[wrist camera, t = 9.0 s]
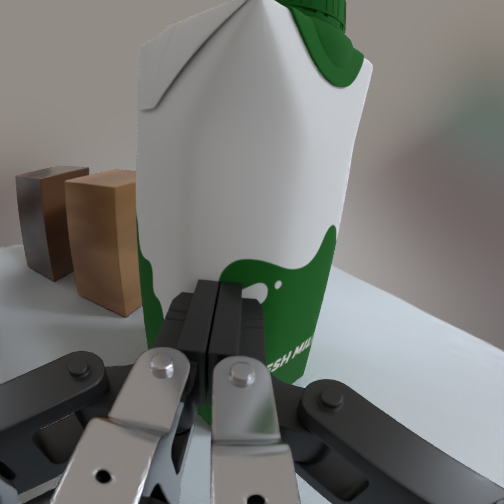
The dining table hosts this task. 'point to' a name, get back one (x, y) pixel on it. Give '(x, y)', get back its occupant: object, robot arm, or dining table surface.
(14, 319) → the dining table surface
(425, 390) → the dining table surface
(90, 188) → the oak block
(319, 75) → the milk carton
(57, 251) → the walnut block
